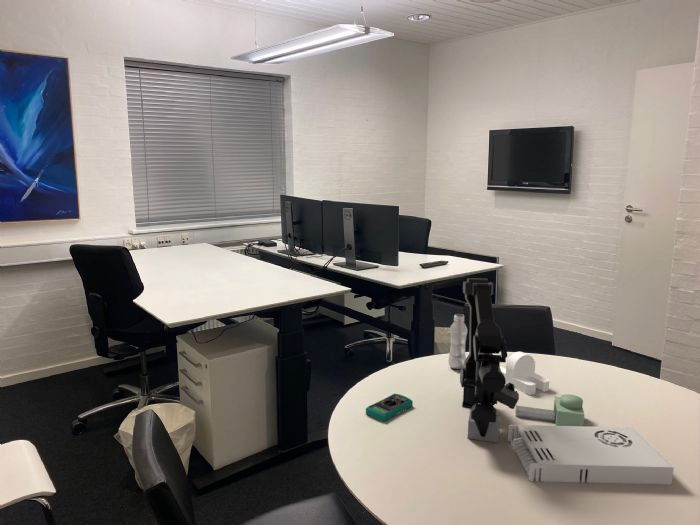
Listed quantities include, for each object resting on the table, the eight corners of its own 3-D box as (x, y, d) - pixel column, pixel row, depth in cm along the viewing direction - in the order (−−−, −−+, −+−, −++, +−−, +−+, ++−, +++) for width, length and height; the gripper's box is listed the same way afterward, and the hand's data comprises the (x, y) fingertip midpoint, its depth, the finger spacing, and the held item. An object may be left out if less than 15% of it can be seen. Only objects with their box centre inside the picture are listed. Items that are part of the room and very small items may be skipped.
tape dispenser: (511, 371, 187) (513, 343, 185) (550, 390, 171) (552, 360, 169) (490, 376, 183) (492, 347, 181) (528, 396, 167) (530, 364, 165)
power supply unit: (507, 441, 139) (508, 424, 138) (631, 444, 138) (632, 427, 137) (528, 483, 120) (530, 463, 119) (672, 487, 119) (674, 467, 118)
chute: (467, 438, 139) (468, 420, 138) (469, 427, 145) (470, 410, 144) (498, 442, 137) (499, 425, 136) (498, 431, 143) (499, 414, 142)
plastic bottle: (448, 370, 187) (450, 317, 183) (447, 363, 193) (449, 312, 190) (466, 371, 186) (468, 318, 182) (465, 365, 192) (467, 313, 189)
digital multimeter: (414, 407, 159) (414, 398, 158) (383, 423, 148) (383, 414, 147) (395, 400, 164) (395, 391, 163) (364, 415, 153) (364, 406, 152)
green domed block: (515, 421, 149) (517, 398, 148) (515, 406, 158) (516, 385, 157) (582, 431, 144) (585, 407, 142) (578, 415, 153) (580, 393, 152)
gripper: (518, 394, 127) (514, 452, 130) (517, 367, 144) (514, 419, 147) (472, 389, 130) (469, 445, 133) (477, 363, 148) (474, 414, 150)
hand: (483, 430), depth 141 cm, fingers closed on chute, 6 cm apart
